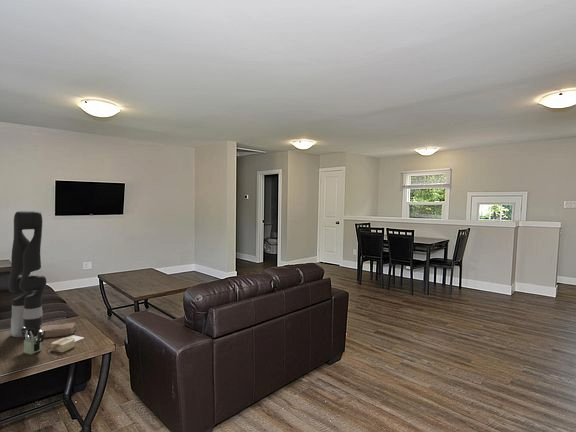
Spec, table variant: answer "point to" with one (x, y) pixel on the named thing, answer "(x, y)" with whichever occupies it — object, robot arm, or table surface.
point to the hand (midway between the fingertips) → (32, 349)
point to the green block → (30, 346)
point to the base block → (62, 344)
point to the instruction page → (75, 337)
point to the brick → (59, 329)
